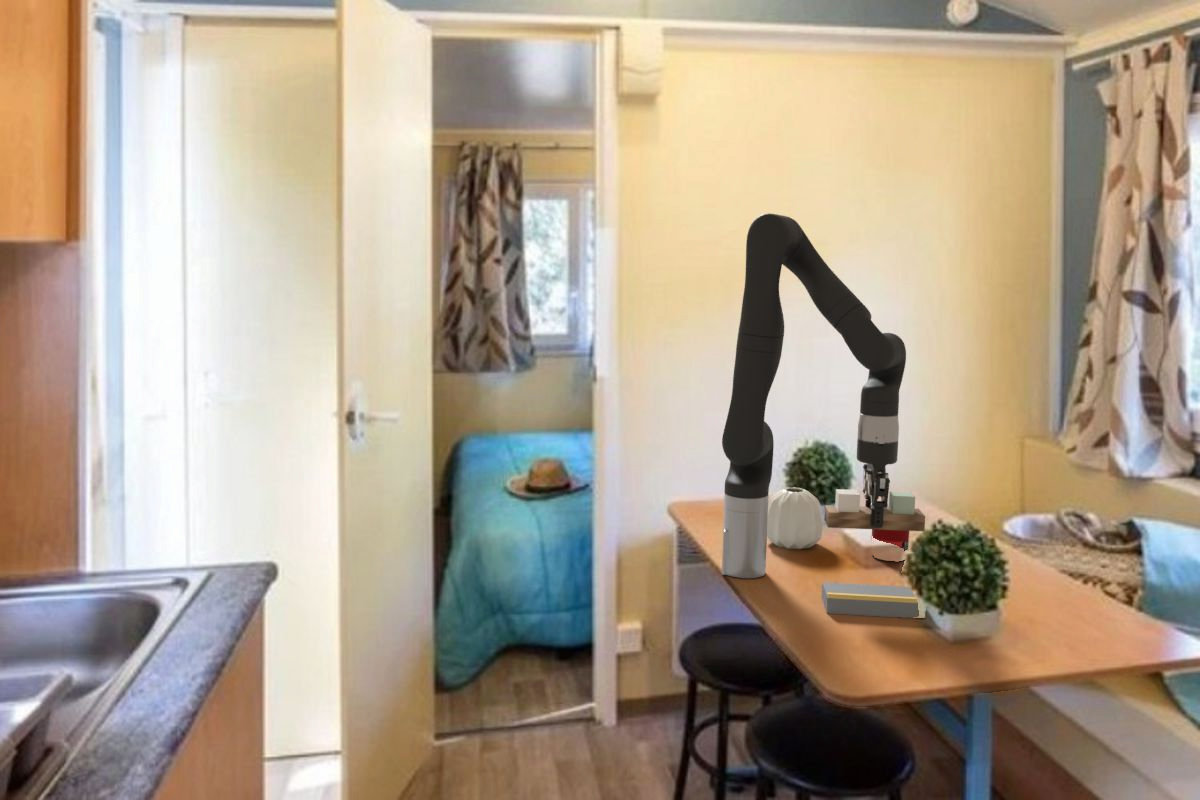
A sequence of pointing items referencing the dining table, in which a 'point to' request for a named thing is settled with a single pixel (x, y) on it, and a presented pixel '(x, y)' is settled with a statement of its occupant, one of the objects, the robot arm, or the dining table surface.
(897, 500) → the block
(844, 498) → the block
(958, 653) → the dining table surface
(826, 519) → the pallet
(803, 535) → the vase
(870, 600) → the block
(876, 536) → the canned food
